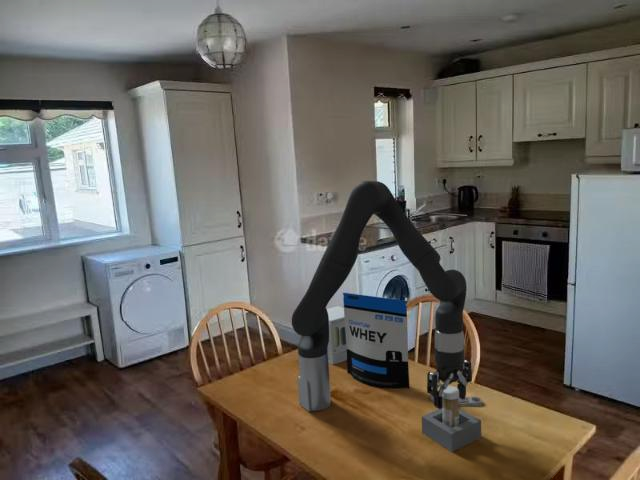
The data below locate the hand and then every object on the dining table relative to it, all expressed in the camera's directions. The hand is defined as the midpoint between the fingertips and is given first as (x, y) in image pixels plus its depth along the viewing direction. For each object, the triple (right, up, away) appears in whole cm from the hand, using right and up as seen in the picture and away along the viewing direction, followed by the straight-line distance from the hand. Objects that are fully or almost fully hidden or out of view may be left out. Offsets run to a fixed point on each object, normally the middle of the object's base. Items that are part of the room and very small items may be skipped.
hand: (450, 402), depth 130 cm
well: (+1, -9, +2) cm, 10 cm away
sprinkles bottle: (+1, -10, +2) cm, 10 cm away
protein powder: (-15, -5, +37) cm, 40 cm away
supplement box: (-28, -2, +60) cm, 66 cm away
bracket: (+7, -7, +19) cm, 21 cm away
